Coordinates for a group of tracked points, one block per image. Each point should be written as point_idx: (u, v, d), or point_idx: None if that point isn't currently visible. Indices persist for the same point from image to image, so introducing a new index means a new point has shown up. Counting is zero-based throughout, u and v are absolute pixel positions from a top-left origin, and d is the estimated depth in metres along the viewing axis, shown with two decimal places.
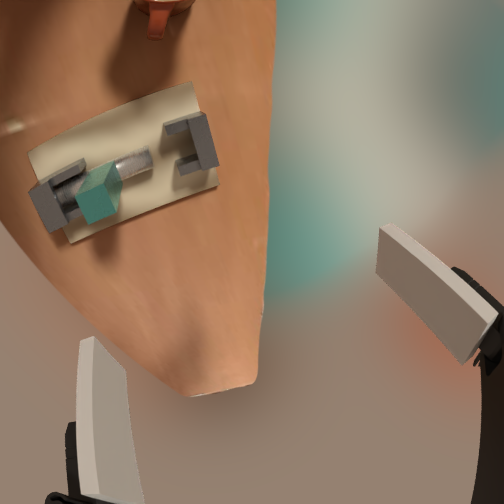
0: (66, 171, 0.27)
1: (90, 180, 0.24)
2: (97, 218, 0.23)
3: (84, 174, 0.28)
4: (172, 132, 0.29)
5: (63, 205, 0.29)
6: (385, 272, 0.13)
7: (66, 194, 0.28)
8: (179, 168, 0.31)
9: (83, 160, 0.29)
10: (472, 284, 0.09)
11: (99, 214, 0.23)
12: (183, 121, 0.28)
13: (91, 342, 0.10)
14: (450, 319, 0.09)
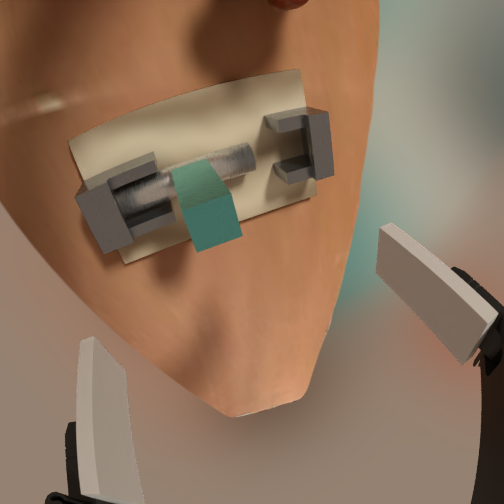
0: (135, 169, 0.21)
1: (190, 185, 0.19)
2: (212, 243, 0.18)
3: (159, 174, 0.23)
4: (286, 129, 0.23)
5: (124, 216, 0.23)
6: (385, 271, 0.13)
7: (132, 202, 0.23)
8: (288, 175, 0.26)
9: (154, 156, 0.23)
10: (472, 284, 0.09)
11: (216, 238, 0.18)
12: (299, 117, 0.23)
13: (92, 342, 0.10)
14: (450, 319, 0.09)
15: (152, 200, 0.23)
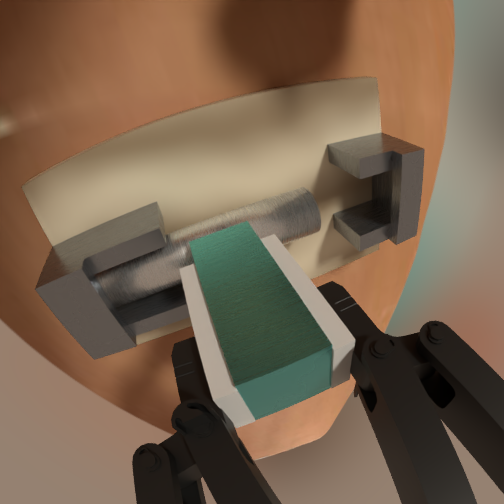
0: (128, 243, 0.12)
1: (235, 299, 0.10)
2: (283, 407, 0.09)
3: (168, 245, 0.14)
4: (368, 173, 0.15)
5: (118, 306, 0.15)
6: None
7: (128, 290, 0.14)
8: (362, 238, 0.17)
9: (159, 210, 0.15)
10: (346, 302, 0.10)
11: (291, 400, 0.09)
12: (387, 154, 0.14)
13: (194, 267, 0.12)
14: None
15: (160, 286, 0.15)
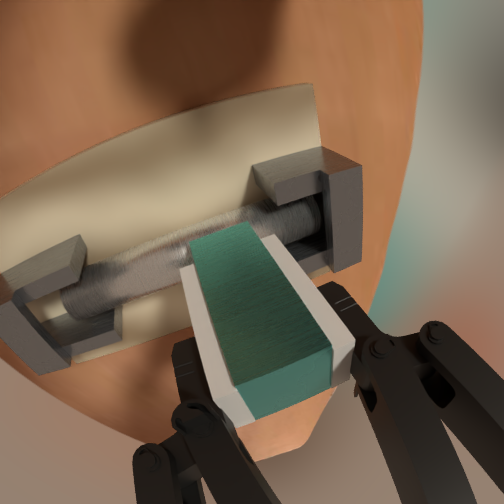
0: (46, 278, 0.12)
1: (235, 299, 0.10)
2: (283, 407, 0.09)
3: (168, 245, 0.14)
4: (288, 198, 0.14)
5: (118, 305, 0.15)
6: None
7: (127, 290, 0.14)
8: None
9: (81, 242, 0.14)
10: (346, 302, 0.10)
11: (291, 400, 0.09)
12: (313, 175, 0.14)
13: (194, 267, 0.12)
14: None
15: (160, 286, 0.15)
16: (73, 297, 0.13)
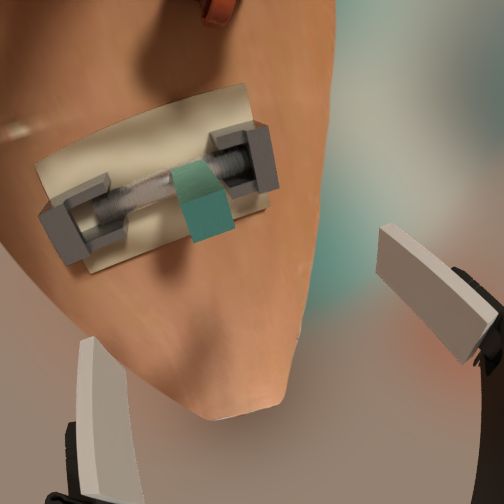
0: (87, 190, 0.22)
1: (188, 183, 0.21)
2: (208, 235, 0.20)
3: (159, 174, 0.25)
4: (225, 146, 0.24)
5: (127, 212, 0.25)
6: (385, 271, 0.13)
7: (134, 199, 0.24)
8: (231, 190, 0.27)
9: (108, 176, 0.25)
10: (472, 284, 0.09)
11: (211, 230, 0.20)
12: (239, 133, 0.24)
13: (92, 342, 0.10)
14: (450, 319, 0.09)
15: (153, 198, 0.25)
16: (100, 205, 0.24)
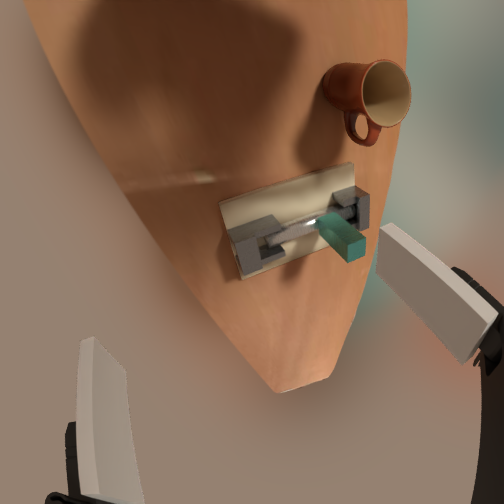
0: (270, 228, 0.40)
1: (340, 230, 0.39)
2: (354, 259, 0.38)
3: (308, 219, 0.43)
4: (347, 204, 0.43)
5: (287, 241, 0.44)
6: (385, 271, 0.13)
7: (295, 234, 0.43)
8: None
9: (273, 217, 0.43)
10: (472, 284, 0.09)
11: (356, 256, 0.38)
12: (354, 197, 0.42)
13: (92, 342, 0.10)
14: (450, 319, 0.09)
15: (304, 233, 0.43)
16: (273, 237, 0.42)
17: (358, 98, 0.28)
